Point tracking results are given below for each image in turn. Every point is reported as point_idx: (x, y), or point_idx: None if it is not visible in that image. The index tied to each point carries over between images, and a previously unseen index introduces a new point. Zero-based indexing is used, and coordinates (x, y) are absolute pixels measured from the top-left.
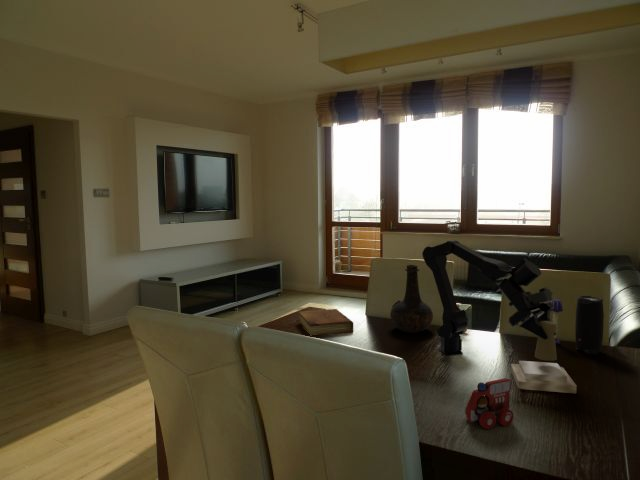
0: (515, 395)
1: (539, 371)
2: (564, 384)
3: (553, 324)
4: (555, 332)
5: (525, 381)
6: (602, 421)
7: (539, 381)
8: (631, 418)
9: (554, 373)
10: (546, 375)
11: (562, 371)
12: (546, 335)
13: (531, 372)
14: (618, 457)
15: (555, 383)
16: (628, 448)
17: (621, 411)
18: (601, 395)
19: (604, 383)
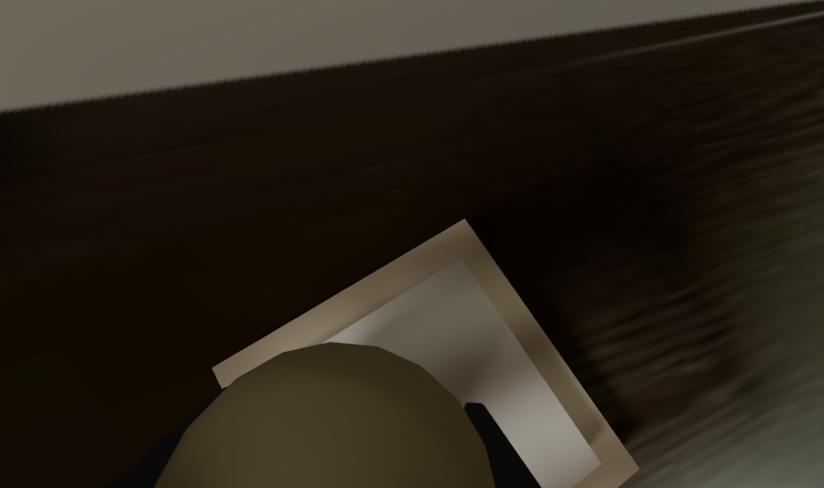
0: (699, 429)
1: (500, 406)
2: (490, 265)
3: (354, 377)
4: (213, 399)
5: (610, 436)
6: (636, 100)
7: (549, 376)
8: (537, 44)
9: (465, 324)
10: (523, 350)
11: (398, 301)
12: (486, 422)
13: (556, 437)
14: (810, 30)
15: (511, 302)
16: (741, 21)
17: (504, 74)
18: (400, 153)
19: (238, 177)
